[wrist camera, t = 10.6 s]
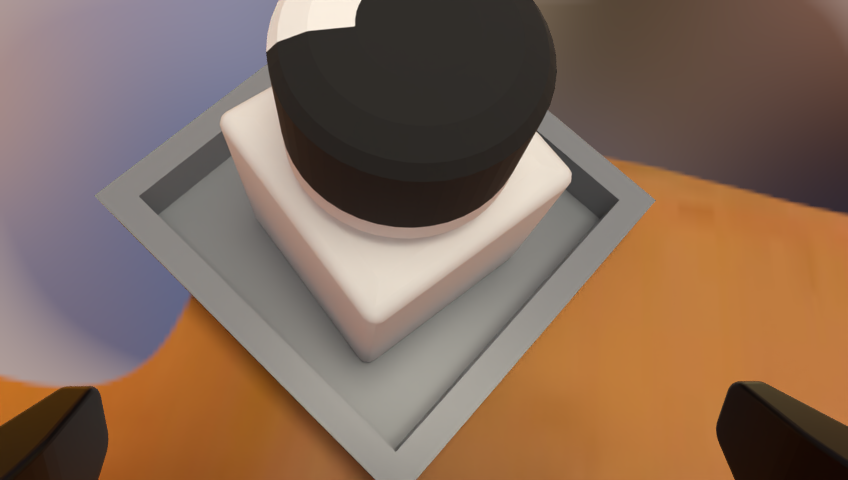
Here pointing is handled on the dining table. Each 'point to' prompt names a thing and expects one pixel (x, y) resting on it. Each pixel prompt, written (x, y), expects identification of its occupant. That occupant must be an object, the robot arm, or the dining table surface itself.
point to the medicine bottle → (398, 151)
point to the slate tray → (315, 332)
